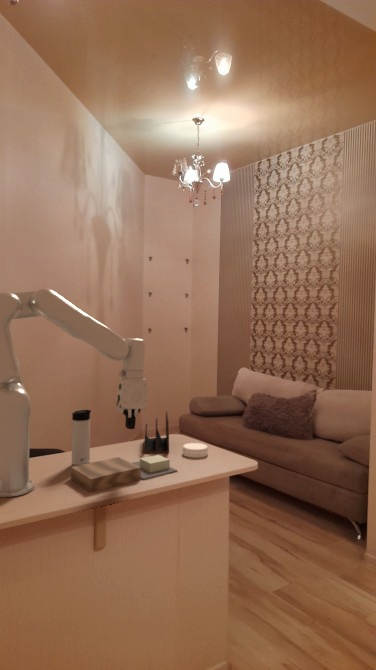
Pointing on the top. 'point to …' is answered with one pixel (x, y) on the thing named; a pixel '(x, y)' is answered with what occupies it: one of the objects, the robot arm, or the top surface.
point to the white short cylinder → (195, 450)
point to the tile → (154, 463)
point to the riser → (105, 474)
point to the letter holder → (157, 441)
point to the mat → (148, 475)
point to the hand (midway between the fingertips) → (130, 428)
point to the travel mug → (80, 437)
